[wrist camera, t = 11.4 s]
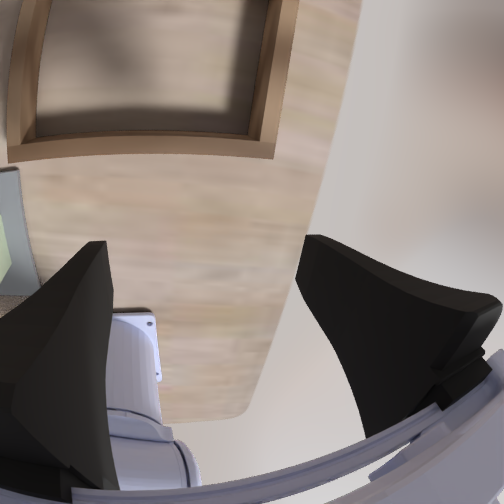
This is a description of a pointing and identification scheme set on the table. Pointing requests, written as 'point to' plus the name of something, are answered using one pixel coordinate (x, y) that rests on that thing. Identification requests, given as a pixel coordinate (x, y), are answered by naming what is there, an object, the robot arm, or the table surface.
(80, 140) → the box
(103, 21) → the table surface
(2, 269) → the wood block
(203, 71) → the table surface
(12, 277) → the mat
